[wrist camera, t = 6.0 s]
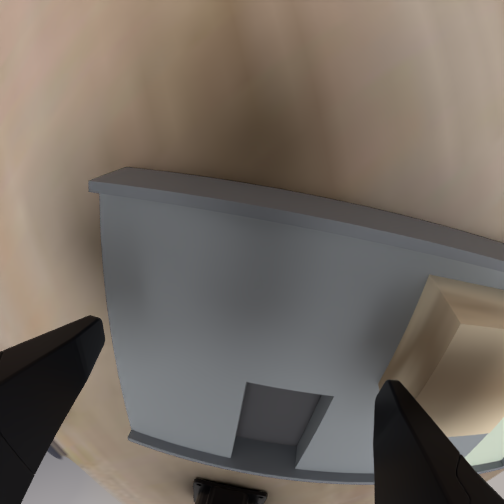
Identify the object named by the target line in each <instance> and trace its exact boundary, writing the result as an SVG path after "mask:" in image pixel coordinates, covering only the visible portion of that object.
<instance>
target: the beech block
mask: <svg viewBox="0 0 504 504" xmlns="http://www.w3.org/2000/svg"><path fill="white" fill-rule="evenodd" d="M388 379H391V380H399V381H400V382H401V383H402V384H403V385H404V387H405V388H406V389H407V390H408V391H409V392H410V394H411V395H412V396H413V397H414V398H415V399H416V401H417V402H418V403H419V404H420V405H421V406H422V408H423V409H424V410H425V411H426V412H427V413H428V415H429V416H430V417H431V418H432V419H433V421H434V422H435V423H436V424H437V425H438V427H439V428H440V429H441V430H442V431H443V433H444V434H445V435H446V436H447V437H456V436H468V435H478V434H487V433H490V432H491V431H492V430H493V429H494V428H495V426H496V425H497V424H498V423H499V422H500V421H501V420H502V418H503V417H504V290H501V289H497V288H492V287H487V286H483V285H478V284H473V283H468V282H463V281H459V280H454V279H449V278H444V277H439V276H434V275H429V276H428V279H427V282H426V284H425V287H424V289H423V292H422V294H421V296H420V299H419V301H418V304H417V306H416V308H415V310H414V313H413V315H412V317H411V320H410V322H409V324H408V326H407V328H406V330H405V333H404V335H403V337H402V339H401V341H400V343H399V345H398V347H397V349H396V351H395V353H394V355H393V357H392V359H391V361H390V363H389V365H388V367H387V368H386V370H385V372H384V374H383V376H382V378H381V380H380V381H379V383H378V386H379V391H380V389H381V388H382V386H383V384H384V382H385V381H386V380H388Z"/></svg>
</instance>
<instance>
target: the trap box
mask: <svg viewBox="0 0 504 504" xmlns="http://www.w3.org/2000/svg"><path fill="white" fill-rule="evenodd" d="M89 192H93V193H100V228H101V246H102V260H103V272H104V283H105V292H106V300H107V308H108V316H109V323H110V330H111V336H112V342H113V348H114V354H115V359H116V364H117V370H118V375H119V379H120V384H121V389H122V393H123V398H124V402H125V406H126V410H127V414H128V418H129V422H130V426H131V429H132V430H131V432H130V434H129V436H128V440H129V441H131V442H134V443H137V444H139V445H142V446H145V447H148V448H151V449H154V450H157V451H160V452H163V453H166V454H169V455H173V456H176V457H179V458H183V459H186V460H190V461H194V462H198V463H201V464H205V465H210V466H214V467H218V468H222V469H227V470H232V471H237V472H242V473H247V474H253V475H258V476H265V477H271V478H278V479H286V480H294V481H304V482H315V483H330V484H358V485H374V458H373V432H374V407H375V399H376V396H377V394H378V393H379V386H378V383H379V381H380V380H381V378H382V376H383V374H384V372H385V370H386V368H387V367H388V365H389V363H390V361H391V359H392V357H393V355H394V353H395V351H396V349H397V347H398V345H399V343H400V341H401V339H402V337H403V335H404V333H405V330H406V328H407V326H408V324H409V322H410V320H411V317H412V315H413V313H414V310H415V308H416V306H417V304H418V301H419V299H420V296H421V294H422V292H423V289H424V287H425V284H426V282H427V279H428V276H429V275H434V276H439V277H444V278H449V279H454V280H459V281H463V282H468V283H473V284H478V285H483V286H487V287H492V288H497V289H501V290H504V243H500V242H497V241H494V240H491V239H487V238H484V237H481V236H477V235H474V234H471V233H467V232H464V231H460V230H457V229H453V228H449V227H446V226H442V225H438V224H435V223H431V222H427V221H423V220H419V219H416V218H412V217H408V216H404V215H400V214H396V213H391V212H387V211H383V210H379V209H374V208H370V207H366V206H361V205H357V204H352V203H348V202H343V201H338V200H334V199H329V198H324V197H319V196H314V195H309V194H304V193H299V192H293V191H288V190H283V189H277V188H272V187H266V186H260V185H254V184H248V183H242V182H236V181H230V180H223V179H217V178H210V177H203V176H196V175H189V174H181V173H173V172H166V171H157V170H149V169H140V168H131V167H125V168H122V169H119V170H116V171H114V172H111V173H108V174H105V175H103V176H100V177H97V178H95V179H92V180H89ZM448 439H449V440H450V441H451V442H452V443H453V445H454V446H455V447H456V448H457V449H458V451H459V452H460V454H462V455H463V457H464V458H465V459H466V460H467V462H468V463H469V464H470V465H471V466H472V467H473V468H474V470H475V471H476V472H477V473H478V474H481V473H486V472H490V471H495V470H499V469H503V468H504V417H503V418H502V420H501V421H500V422H499V423H498V424H497V425H496V426H495V428H494V429H493V430H492V431H491V432H490V433H487V434H478V435H468V436H456V437H448Z"/></svg>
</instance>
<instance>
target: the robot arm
mask: <svg viewBox="0 0 504 504" xmlns="http://www.w3.org/2000/svg"><path fill="white" fill-rule="evenodd" d="M104 342H105V335H104V329H103V323H102V320H101V319H100V318H98V317H95V316H91V315H90V316H87V317H84V318H82V319H79V320H77V321H74V322H72V323H69V324H67V325H64V326H62V327H60V328H57V329H55V330H52V331H50V332H47V333H45V334H42V335H40V336H38V337H35V338H33V339H30V340H28V341H25V342H23V343H20V344H18V345H15V346H13V347H11V348H8V349H6V350H4V351H1V352H0V504H21V502H22V499H23V498H24V496H25V494H26V492H27V489H28V488H29V486H30V483H31V481H32V479H33V477H34V474H35V473H36V471H37V469H38V467H39V465H40V463H41V461H42V460H43V457H44V456H45V454H46V452H47V450H48V448H49V446H50V444H51V443H52V441H53V439H54V437H55V435H56V433H57V432H58V430H59V428H60V426H61V424H62V423H63V421H64V419H65V417H66V416H67V414H68V412H69V410H70V409H71V407H72V405H73V403H74V402H75V400H76V398H77V397H78V395H79V393H80V392H81V390H82V388H83V387H84V385H85V383H86V381H87V379H88V377H89V375H90V373H91V371H92V369H93V367H94V364H95V362H96V360H97V358H98V356H99V354H100V352H101V350H102V347H103V345H104ZM373 458H374V485H375V504H504V499H502V497H501V496H500V495H498V493H497V492H496V491H494V489H493V488H492V487H491V486H489V485H488V483H487V482H486V481H485V480H484V479H483V478H482V477H481V476H480V475H479V474H478V473H477V472H476V471H475V470H474V468H473V467H472V466H471V465H470V464H469V463H468V462H467V460H466V459H465V458H464V457H463V455H462V454H460V452H459V451H458V449H457V448H456V447H455V446H454V445H453V443H452V442H451V441H450V440H449V439H448V437H447V436H446V435H445V434H444V433H443V431H442V430H441V429H440V428H439V427H438V425H437V424H436V423H435V422H434V421H433V419H432V418H431V417H430V416H429V415H428V413H427V412H426V411H425V410H424V409H423V408H422V406H421V405H420V404H419V403H418V402H417V401H416V399H415V398H414V397H413V396H412V395H411V394H410V392H409V391H408V390H407V389H406V388H405V387H404V385H403V384H402V383H401V382H400V381H399V380H391V379H388V380H386V381H385V382H384V384H383V386H382V388H381V389H380V391H379V393H378V394H377V396H376V399H375V407H374V432H373ZM193 489H194V502H195V504H264V502H265V500H266V499H267V493H265V492H259V491H253V490H247V489H242V488H237V487H232V486H227V485H222V484H218V483H213V482H209V481H205V480H201V479H195V480H194V483H193Z"/></svg>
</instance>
